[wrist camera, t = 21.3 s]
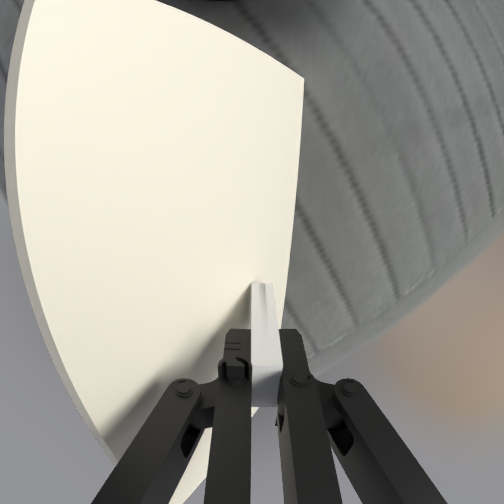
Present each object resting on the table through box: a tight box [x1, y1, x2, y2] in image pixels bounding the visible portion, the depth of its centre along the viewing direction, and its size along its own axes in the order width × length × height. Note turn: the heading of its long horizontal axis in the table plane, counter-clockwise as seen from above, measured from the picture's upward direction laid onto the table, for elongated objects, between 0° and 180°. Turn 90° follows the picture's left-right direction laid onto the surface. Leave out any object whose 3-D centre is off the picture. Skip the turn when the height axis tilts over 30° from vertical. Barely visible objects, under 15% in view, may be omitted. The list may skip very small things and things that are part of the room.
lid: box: [4, 0, 304, 504], centre depth 15 cm, size 17×28×1 cm
